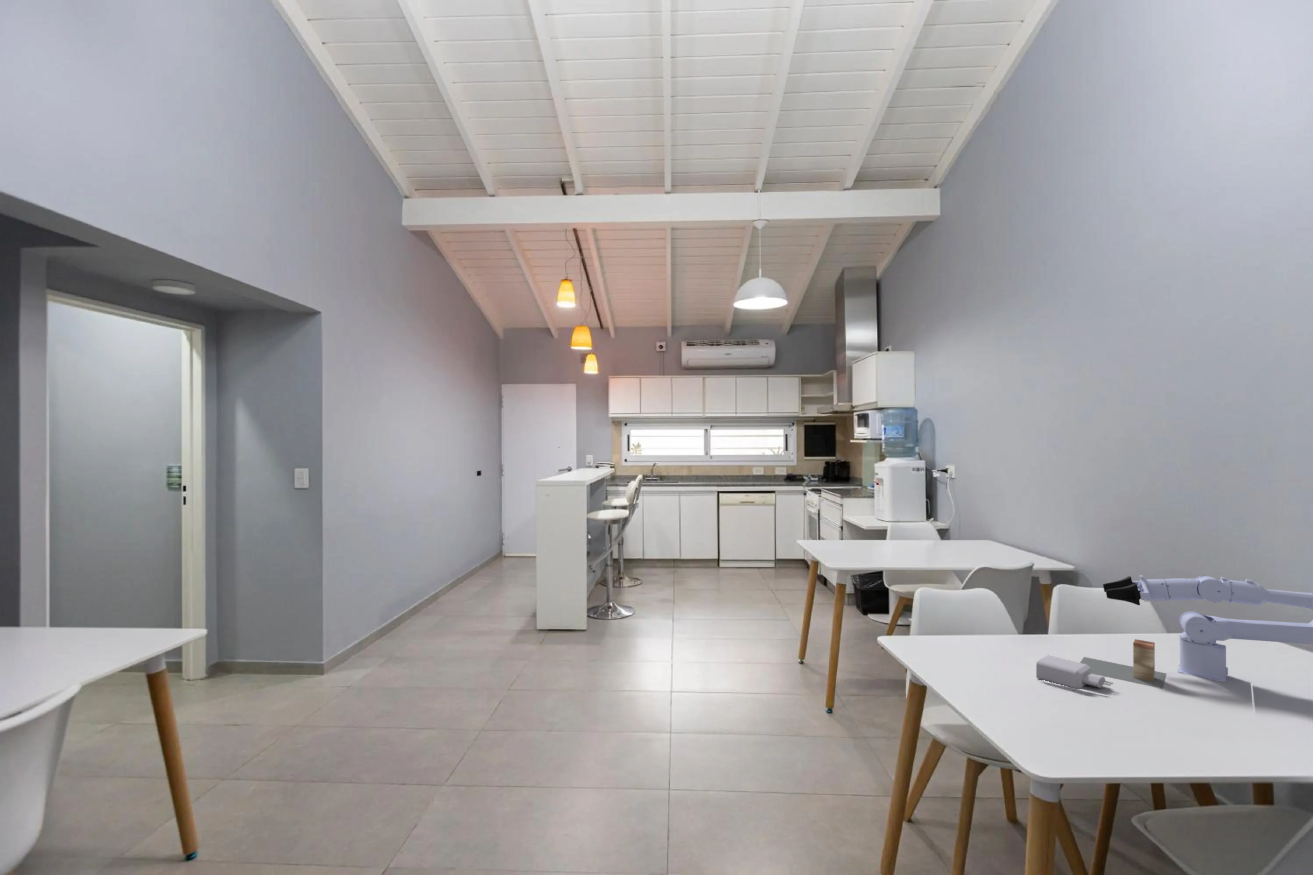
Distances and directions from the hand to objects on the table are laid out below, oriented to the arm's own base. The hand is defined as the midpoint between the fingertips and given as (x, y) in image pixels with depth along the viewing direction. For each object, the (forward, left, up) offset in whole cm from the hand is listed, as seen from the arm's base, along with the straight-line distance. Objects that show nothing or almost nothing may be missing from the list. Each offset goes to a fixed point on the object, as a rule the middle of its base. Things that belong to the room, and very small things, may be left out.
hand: (1104, 590), depth 173 cm
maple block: (-10, +11, -19) cm, 24 cm away
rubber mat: (-5, +10, -19) cm, 22 cm away
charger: (+3, +27, -20) cm, 34 cm away
